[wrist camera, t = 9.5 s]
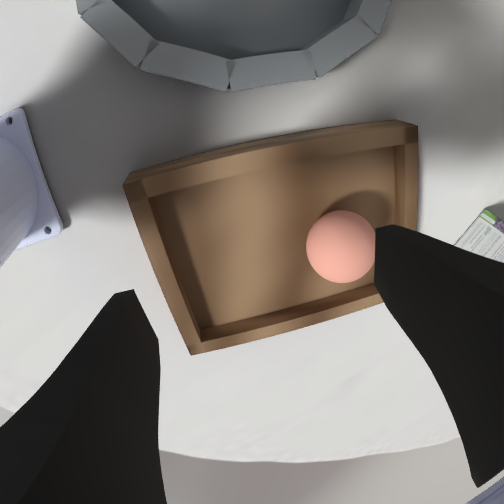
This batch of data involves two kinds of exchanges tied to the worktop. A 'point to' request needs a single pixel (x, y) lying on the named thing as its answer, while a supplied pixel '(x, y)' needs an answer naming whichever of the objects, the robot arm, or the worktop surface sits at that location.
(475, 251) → the syrup box
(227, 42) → the bowl
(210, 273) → the tray
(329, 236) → the ball
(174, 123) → the worktop surface
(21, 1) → the worktop surface
